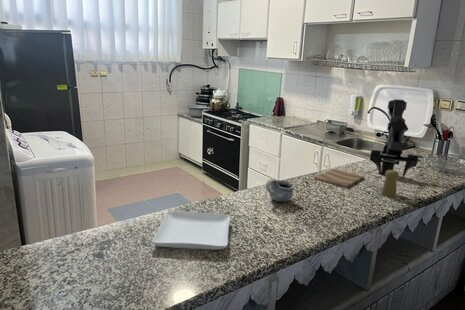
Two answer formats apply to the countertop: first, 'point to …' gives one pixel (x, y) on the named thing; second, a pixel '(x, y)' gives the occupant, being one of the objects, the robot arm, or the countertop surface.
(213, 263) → the countertop surface
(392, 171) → the cork
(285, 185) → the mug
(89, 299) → the countertop surface
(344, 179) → the walnut board
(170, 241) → the salad plate
